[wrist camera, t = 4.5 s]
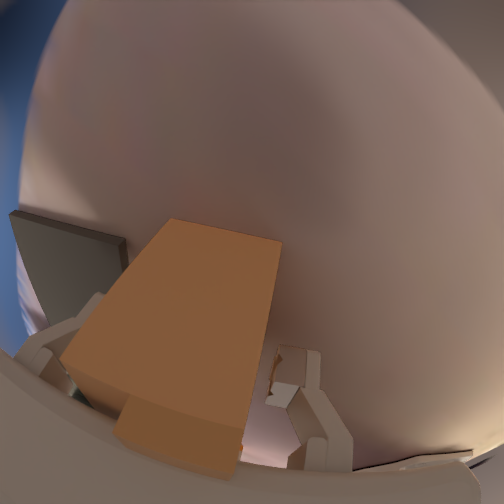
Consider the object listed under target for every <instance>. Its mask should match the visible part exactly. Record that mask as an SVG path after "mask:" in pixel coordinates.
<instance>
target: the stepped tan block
mask: <svg viewBox="0 0 504 504" xmlns="http://www.w3.org/2000/svg"><path fill="white" fill-rule="evenodd" d="M281 248H282V242H279V241H275V240H270V239H266V238H261V237H257V236H252V235H248V234H243V233H238V232H234V231H229V230H225V229H220V228H215V227H211V226H206V225H201V224H197V223H192V222H187V221H183V220H178V219H173V218H170V219H169V221H168V222H167V223H166V224H165V225H164V226H163V227H162V228H161V229H160V230H159V232H158V233H157V234H156V235H155V236H154V237H153V238H152V239H151V241H150V242H149V243H148V244H147V245H146V246H145V247H144V249H143V250H142V251H141V252H140V253H139V254H138V256H137V257H136V258H135V259H134V260H133V262H132V263H131V264H130V265H129V266H128V268H127V269H126V270H125V271H124V272H123V274H122V275H121V276H120V277H119V278H118V280H117V281H116V282H115V283H114V285H113V286H112V287H111V288H110V290H109V291H108V292H107V294H106V295H105V296H104V297H103V299H102V300H101V301H100V303H99V304H98V305H97V306H96V308H95V309H94V310H93V312H92V313H91V314H90V316H89V317H88V318H87V320H86V321H85V322H84V324H83V325H82V327H81V328H80V329H79V331H78V332H77V334H76V335H75V336H74V338H73V339H72V341H71V342H70V343H69V345H68V346H67V348H66V349H65V351H64V352H63V354H62V355H61V357H60V358H59V360H60V361H61V363H62V364H63V366H64V367H65V369H66V371H67V372H68V374H69V375H70V376H71V378H72V379H73V381H74V382H75V384H76V385H77V386H78V388H79V389H80V391H81V392H82V393H83V395H84V396H85V397H86V399H87V400H88V401H89V403H90V404H91V405H92V407H93V408H94V409H95V410H96V411H98V412H100V413H102V414H104V415H106V416H108V417H110V418H112V419H115V420H117V423H116V425H115V427H114V429H113V431H112V434H113V435H114V436H115V437H116V438H117V439H118V440H119V441H120V442H121V443H122V444H123V445H124V446H125V447H126V448H128V449H130V450H132V451H135V452H137V453H140V454H142V455H145V456H147V457H150V458H152V459H155V460H158V461H160V462H163V463H166V464H169V465H172V466H175V467H178V468H181V469H184V470H188V471H191V472H194V473H198V474H202V475H205V476H209V477H213V478H217V479H221V480H226V481H229V480H230V479H231V477H232V476H233V474H234V471H235V467H236V463H237V459H238V455H239V450H240V446H241V442H242V438H243V434H244V429H245V425H246V421H247V416H248V412H249V407H250V403H251V398H252V394H253V389H254V385H255V380H256V376H257V371H258V366H259V361H260V357H261V352H262V347H263V342H264V337H265V332H266V327H267V322H268V317H269V312H270V307H271V302H272V297H273V291H274V286H275V281H276V276H277V270H278V265H279V259H280V254H281Z"/></svg>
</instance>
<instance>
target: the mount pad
mask: <svg viewBox="0 0 504 504" xmlns="http://www.w3.org/2000/svg"><path fill="white" fill-rule="evenodd" d="M9 217H10V221H11V225H12V228H13V232H14V235H15V239H16V242H17V245H18V248H19V251H20V254H21V257H22V260H23V263H24V266H25V268H26V271H27V274H28V276H29V279H30V281H31V284H32V286H33V289H34V291H35V294H36V296H37V298H38V300H39V303H40V305H41V307H42V309H43V311H44V313H45V316H46V318H47V320H48V322H49V324H50V326H53V325H56V324H58V323H60V322H62V321H65V320H67V319H69V318H71V317H74V318H76V316H77V315H78V314H79V313H80V311H81V310H82V309H83V308H84V306H85V305H86V304H87V303H88V301H89V300H90V299H91V298H92V296H93V295H94V294H95V293H97V292H100V293H103V294H107V292H108V291H109V290H110V288H111V287H112V286H113V285H114V283H115V282H116V281H117V280H118V278H119V277H120V276H121V275H122V274H123V272H124V271H125V270H126V269H127V268H128V266H129V264H128V257H127V250H126V242H125V239H124V238H120V237H116V236H112V235H108V234H104V233H100V232H96V231H92V230H89V229H85V228H81V227H77V226H73V225H69V224H66V223H62V222H58V221H54V220H51V219H47V218H43V217H39V216H36V215H32V214H28V213H25V212H21V211H18V210H14V211H13V212H11V213H10V214H9Z"/></svg>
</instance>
